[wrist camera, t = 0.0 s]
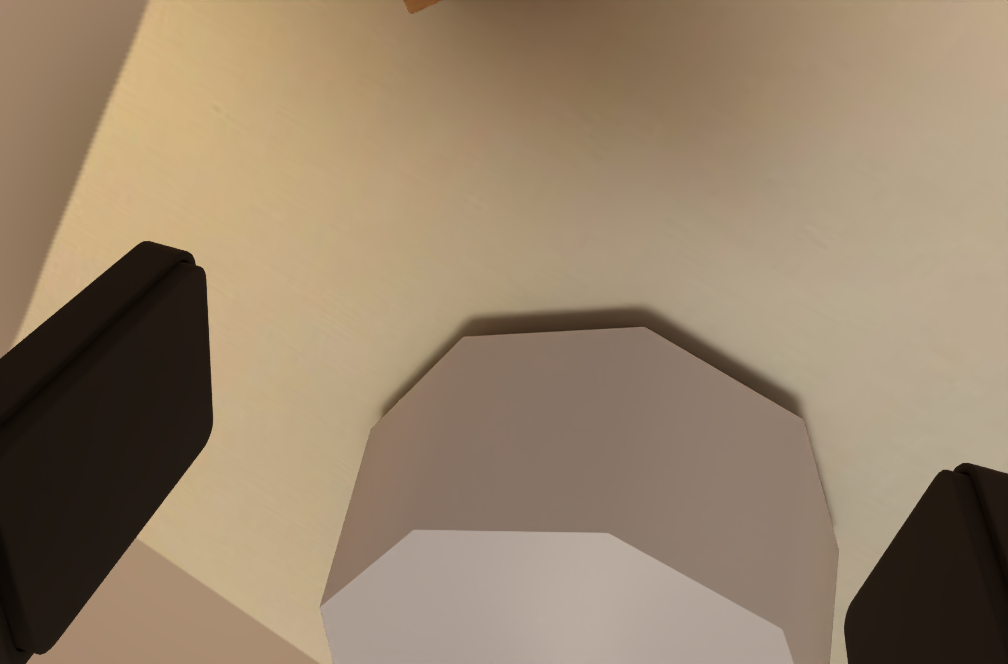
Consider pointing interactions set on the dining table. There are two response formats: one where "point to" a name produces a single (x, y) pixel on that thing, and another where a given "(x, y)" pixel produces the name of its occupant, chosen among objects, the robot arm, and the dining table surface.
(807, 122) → the dining table surface
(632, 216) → the dining table surface
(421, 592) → the bottle
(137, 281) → the robot arm
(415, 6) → the stamp
